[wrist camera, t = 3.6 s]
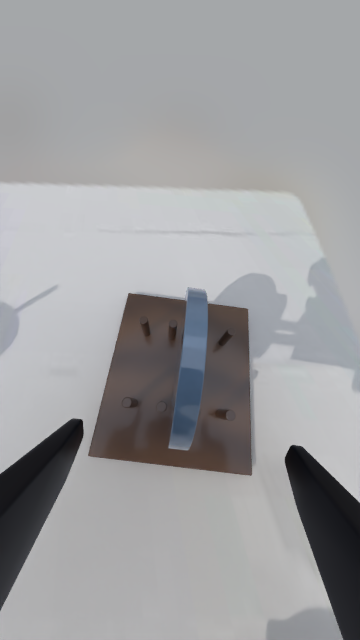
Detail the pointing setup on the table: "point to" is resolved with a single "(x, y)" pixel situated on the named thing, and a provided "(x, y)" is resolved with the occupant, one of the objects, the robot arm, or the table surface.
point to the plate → (189, 370)
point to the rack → (157, 385)
